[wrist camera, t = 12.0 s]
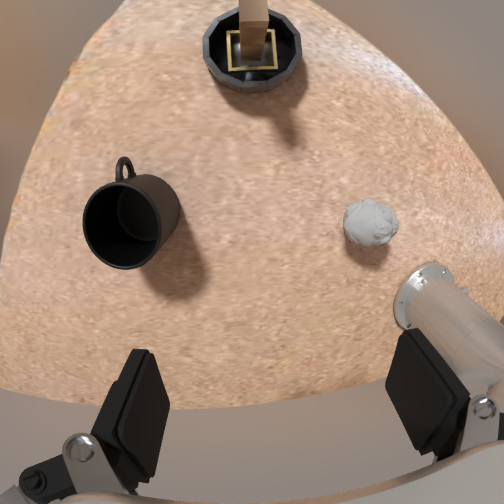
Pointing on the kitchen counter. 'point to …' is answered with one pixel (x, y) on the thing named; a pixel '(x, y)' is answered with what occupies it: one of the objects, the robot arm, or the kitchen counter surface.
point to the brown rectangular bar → (252, 28)
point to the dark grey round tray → (251, 72)
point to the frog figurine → (369, 223)
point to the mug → (130, 218)
